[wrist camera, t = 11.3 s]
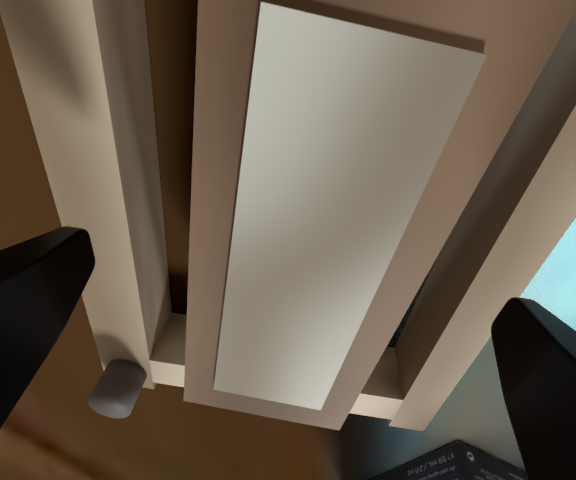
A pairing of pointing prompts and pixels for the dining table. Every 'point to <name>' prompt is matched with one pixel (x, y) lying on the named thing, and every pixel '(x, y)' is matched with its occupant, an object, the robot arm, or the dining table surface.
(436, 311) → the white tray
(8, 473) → the dining table surface
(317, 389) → the frame
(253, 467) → the dining table surface
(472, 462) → the small box
